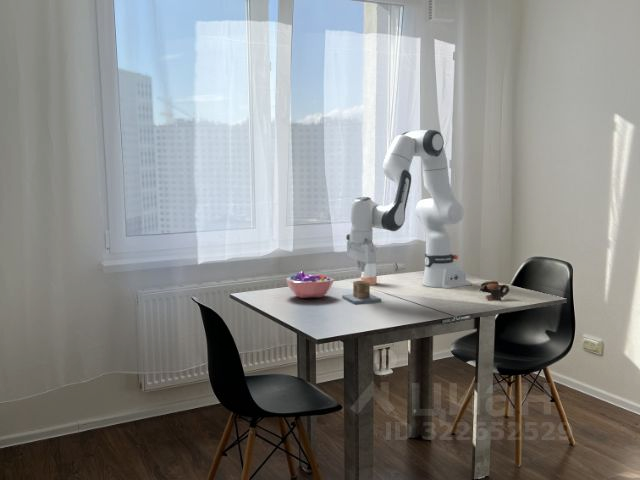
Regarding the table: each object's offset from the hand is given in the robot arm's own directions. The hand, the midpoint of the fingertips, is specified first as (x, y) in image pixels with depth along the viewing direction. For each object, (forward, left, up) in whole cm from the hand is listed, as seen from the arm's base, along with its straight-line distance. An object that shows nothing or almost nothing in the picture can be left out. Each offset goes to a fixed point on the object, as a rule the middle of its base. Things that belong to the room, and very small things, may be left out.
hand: (361, 271), depth 262 cm
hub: (0, 0, -12) cm, 12 cm away
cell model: (+18, -12, -12) cm, 25 cm away
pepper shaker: (-17, -28, -12) cm, 35 cm away
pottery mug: (-52, +19, -12) cm, 56 cm away
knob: (0, 0, -11) cm, 11 cm away
